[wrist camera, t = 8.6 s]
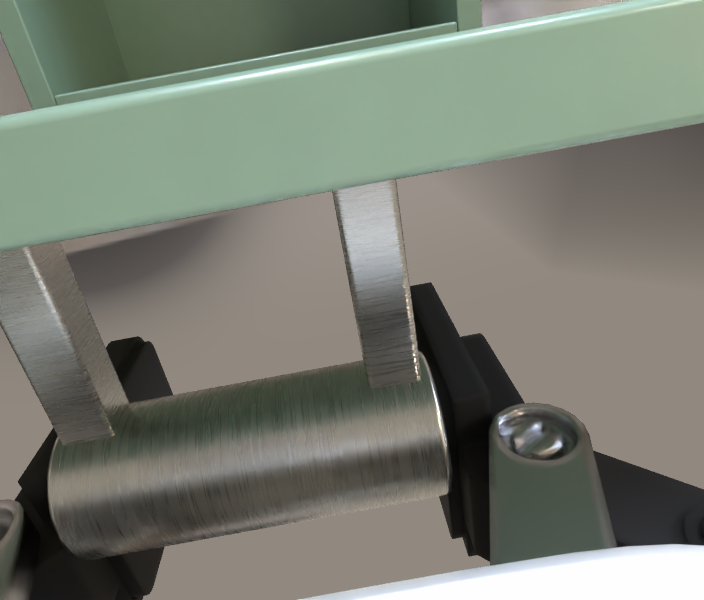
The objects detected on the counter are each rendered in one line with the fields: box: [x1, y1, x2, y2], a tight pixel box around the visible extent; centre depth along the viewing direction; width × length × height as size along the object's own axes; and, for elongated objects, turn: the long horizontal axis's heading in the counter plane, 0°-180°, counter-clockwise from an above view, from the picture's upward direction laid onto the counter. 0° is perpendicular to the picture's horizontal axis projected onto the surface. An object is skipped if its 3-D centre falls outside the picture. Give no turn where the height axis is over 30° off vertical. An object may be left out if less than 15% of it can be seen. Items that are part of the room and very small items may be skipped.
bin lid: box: [0, 0, 704, 560], centre depth 11 cm, size 14×15×6 cm
